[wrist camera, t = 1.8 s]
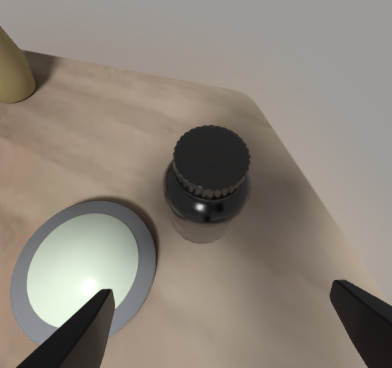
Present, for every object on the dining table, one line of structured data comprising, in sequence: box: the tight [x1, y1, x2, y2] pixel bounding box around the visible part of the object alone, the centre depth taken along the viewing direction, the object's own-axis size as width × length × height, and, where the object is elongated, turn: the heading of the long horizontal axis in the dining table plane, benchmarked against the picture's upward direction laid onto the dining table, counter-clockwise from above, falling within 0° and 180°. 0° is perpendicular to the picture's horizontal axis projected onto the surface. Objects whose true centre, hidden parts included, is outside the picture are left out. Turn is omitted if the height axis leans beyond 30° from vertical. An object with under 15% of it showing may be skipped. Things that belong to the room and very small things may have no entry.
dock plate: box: [10, 201, 156, 345], centre depth 20 cm, size 13×13×1 cm
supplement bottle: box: [163, 125, 251, 244], centre depth 18 cm, size 7×7×12 cm
